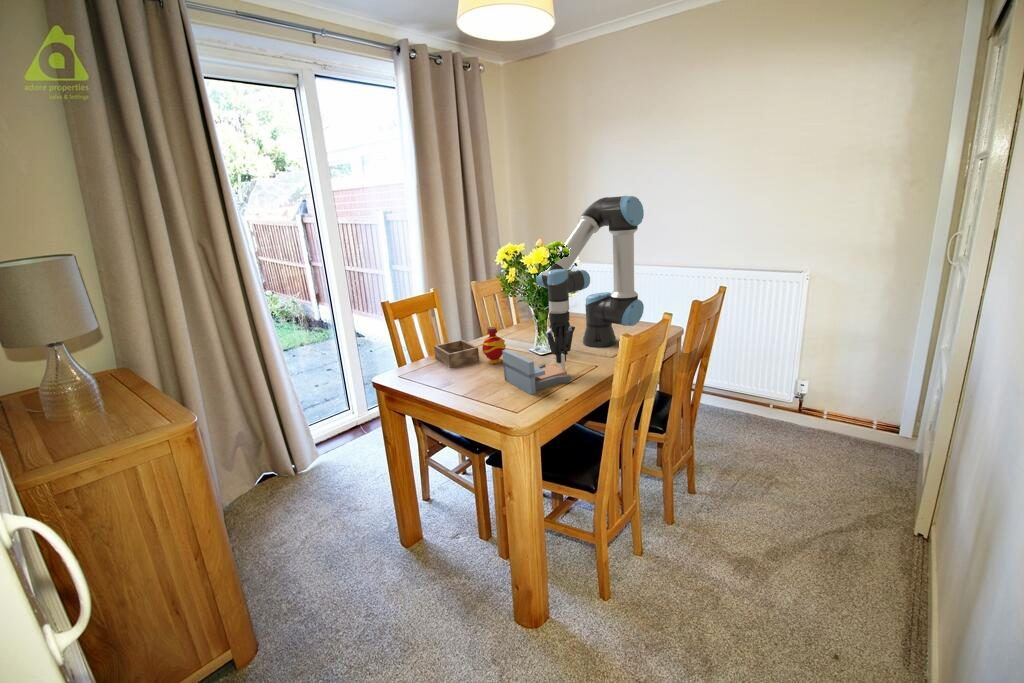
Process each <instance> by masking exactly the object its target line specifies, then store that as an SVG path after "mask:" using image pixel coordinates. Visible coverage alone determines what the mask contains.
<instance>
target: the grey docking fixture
mask: <svg viewBox="0 0 1024 683" xmlns="http://www.w3.org/2000/svg"><path fill="white" fill-rule="evenodd" d="M502 352H503V354H502V363H503V373H504V374H503V376H504V381H506V382H507V383H509V384H511V385H513V386H514V387H516V388H518V389H520V390H522V391H523V392H526V393H527V394H529V395H531V396H532V395H535V394H537V390H542V389H544V388H547V387H552V386H554V385H557V384H569V383H572V378H571V377H572V376H571V374H570V375H569V374H567V375H565V376H555V377H551V378H547V379H544V380H540V381H537V382H535V377H539V376H542V375H545V370H543V369H542V368H545V367H546V363H542V364H540V365H538V366H536V365H535V362H534V360H531V359H530V358H526V357H524V356H522V355H520V354H518V353H516V352H514V351H511V350H509V349H506V348H505V350H502Z"/></svg>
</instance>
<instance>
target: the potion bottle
mask: <svg viewBox="0 0 1024 683" xmlns="http://www.w3.org/2000/svg"><path fill="white" fill-rule="evenodd" d="M497 329H498V328H497V326H489V327H487V334H489V336H488V337H486V338H485V339H484V341H483V343H482V353H483V354H484V355H485V356H486V358H487V359H489V363H490V364H497V363H501V361H502V360H501V358H502V357H503V352H502V350H506V346H507V345H506V344H505V339H503V337H500V336H497V333H498V330H497Z"/></svg>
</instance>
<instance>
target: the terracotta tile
mask: <svg viewBox="0 0 1024 683" xmlns="http://www.w3.org/2000/svg"><path fill="white" fill-rule="evenodd" d="M542 369H543V370H545V375H542V376H539V377H535V382H537V381H540V380H544V379H547V378H551V377H555V376H565V375H568V371H567V370H566V369H565V370H563V369H561V368H559V367H558V366H555V365H554V364H553V365H549V366H545V368H542Z"/></svg>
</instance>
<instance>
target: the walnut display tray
mask: <svg viewBox="0 0 1024 683" xmlns="http://www.w3.org/2000/svg"><path fill="white" fill-rule="evenodd" d="M433 351H434V358H435V360H437V361H439V362H441V363H442V364H444V365H445V366H446V367H448V368H450V369H452V368H455V367H459V366H464V365H467V364H470V363H471V364H472V363H475V362H479V361H480V354H479V347H477V346H476V345H473V344H472V343H469V342H467V341H466V340H464V339H458V340H454V341H449V342H445V343H441V344H440V343H439V344H435V345H433Z"/></svg>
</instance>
